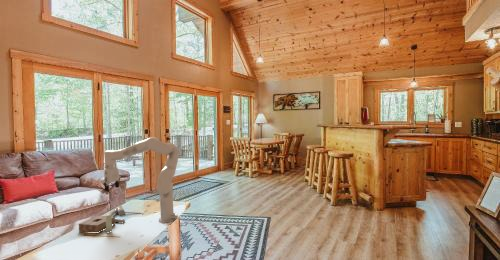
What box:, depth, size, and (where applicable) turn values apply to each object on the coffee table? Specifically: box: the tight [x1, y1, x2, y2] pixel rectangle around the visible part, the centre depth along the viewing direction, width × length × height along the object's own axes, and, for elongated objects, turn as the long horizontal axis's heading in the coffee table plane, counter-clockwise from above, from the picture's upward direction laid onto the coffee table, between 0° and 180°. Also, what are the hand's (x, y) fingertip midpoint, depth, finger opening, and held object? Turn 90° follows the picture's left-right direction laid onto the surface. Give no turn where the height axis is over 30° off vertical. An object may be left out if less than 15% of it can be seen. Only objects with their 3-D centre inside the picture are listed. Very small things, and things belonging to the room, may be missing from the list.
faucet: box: [109, 205, 145, 223], centre depth 209 cm, size 5×28×28 cm
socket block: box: [78, 215, 116, 234], centre depth 188 cm, size 16×16×6 cm
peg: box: [104, 213, 113, 233], centre depth 180 cm, size 4×4×12 cm
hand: (112, 189), depth 194 cm, fingers open, 9 cm apart
